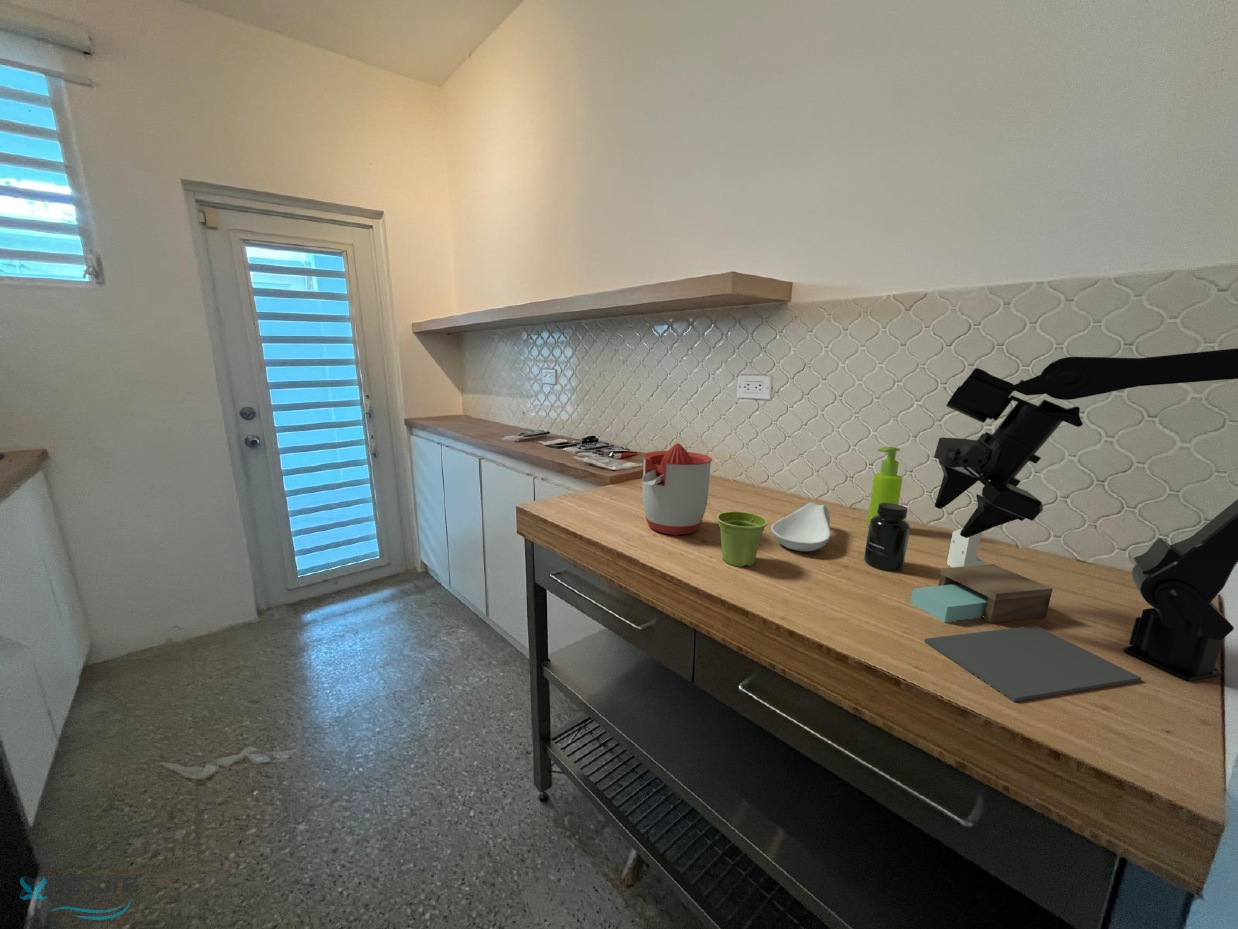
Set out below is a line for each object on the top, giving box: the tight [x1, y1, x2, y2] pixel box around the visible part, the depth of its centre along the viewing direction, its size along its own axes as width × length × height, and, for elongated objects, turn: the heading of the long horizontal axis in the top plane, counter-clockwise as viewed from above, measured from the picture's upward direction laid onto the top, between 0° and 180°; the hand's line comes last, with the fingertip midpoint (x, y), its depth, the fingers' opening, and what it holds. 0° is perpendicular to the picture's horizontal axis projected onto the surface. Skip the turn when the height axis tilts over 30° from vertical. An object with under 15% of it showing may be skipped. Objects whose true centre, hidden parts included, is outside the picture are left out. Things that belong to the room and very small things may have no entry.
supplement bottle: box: [863, 503, 911, 572], centre depth 89 cm, size 7×7×12 cm
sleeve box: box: [937, 563, 1053, 624], centre depth 75 cm, size 9×11×5 cm
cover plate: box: [910, 584, 988, 623], centre depth 74 cm, size 6×14×3 cm, turn 104°
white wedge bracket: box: [946, 528, 988, 568], centre depth 87 cm, size 4×10×9 cm, turn 169°
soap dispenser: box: [866, 446, 904, 528], centre depth 110 cm, size 6×7×20 cm
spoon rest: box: [770, 502, 831, 553], centre depth 103 cm, size 24×12×7 cm, turn 144°
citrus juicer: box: [641, 443, 713, 536], centre depth 105 cm, size 16×17×20 cm
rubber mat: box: [923, 625, 1142, 703], centre depth 61 cm, size 12×20×1 cm, turn 103°
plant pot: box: [716, 510, 768, 568], centre depth 89 cm, size 9×9×9 cm
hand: (949, 521), depth 75 cm, fingers open, 9 cm apart
